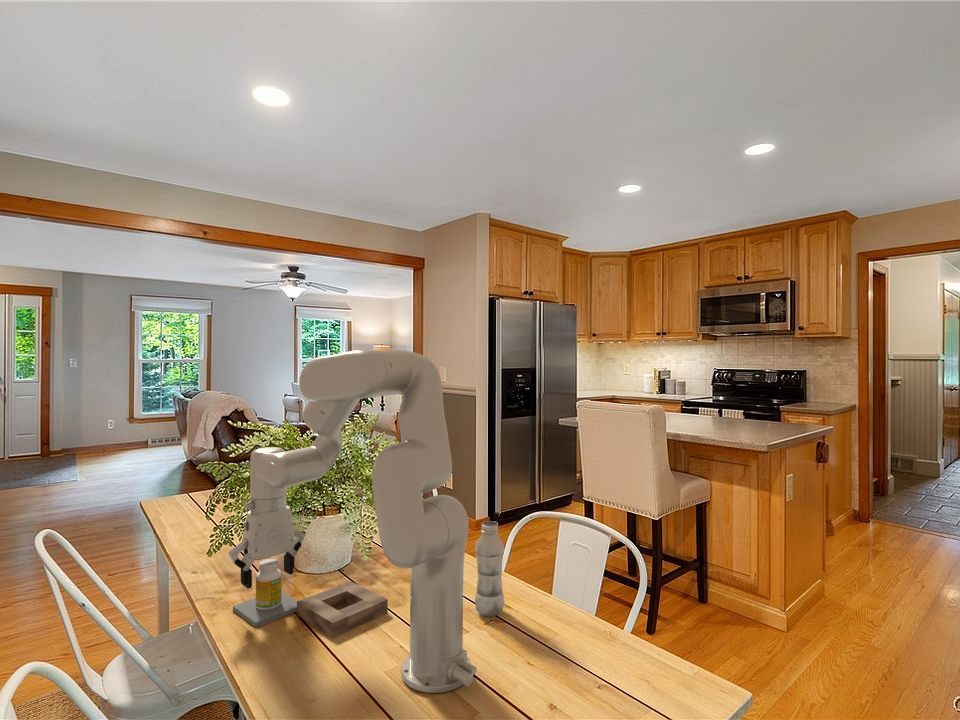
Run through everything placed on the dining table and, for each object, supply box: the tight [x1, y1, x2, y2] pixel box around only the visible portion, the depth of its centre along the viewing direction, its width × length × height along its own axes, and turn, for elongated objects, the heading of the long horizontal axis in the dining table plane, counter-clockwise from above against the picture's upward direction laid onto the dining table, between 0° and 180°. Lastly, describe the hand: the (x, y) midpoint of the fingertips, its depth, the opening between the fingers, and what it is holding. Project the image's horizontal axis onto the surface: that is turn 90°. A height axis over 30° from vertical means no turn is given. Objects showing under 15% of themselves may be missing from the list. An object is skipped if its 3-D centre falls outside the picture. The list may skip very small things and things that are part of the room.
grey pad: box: [232, 590, 298, 628], centre depth 118 cm, size 11×11×1 cm
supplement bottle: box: [255, 558, 283, 610], centre depth 118 cm, size 5×5×10 cm
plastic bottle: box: [474, 520, 505, 618], centre depth 117 cm, size 6×7×20 cm
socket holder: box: [296, 581, 389, 639], centre depth 117 cm, size 14×14×3 cm
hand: (268, 579), depth 118 cm, fingers open, 9 cm apart
